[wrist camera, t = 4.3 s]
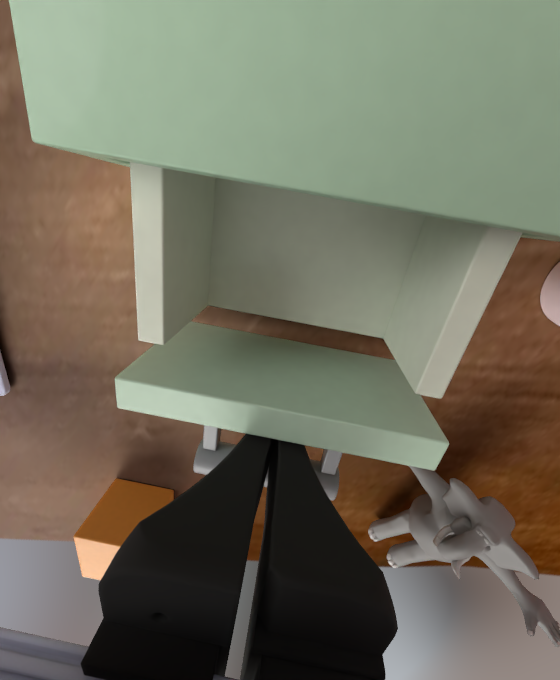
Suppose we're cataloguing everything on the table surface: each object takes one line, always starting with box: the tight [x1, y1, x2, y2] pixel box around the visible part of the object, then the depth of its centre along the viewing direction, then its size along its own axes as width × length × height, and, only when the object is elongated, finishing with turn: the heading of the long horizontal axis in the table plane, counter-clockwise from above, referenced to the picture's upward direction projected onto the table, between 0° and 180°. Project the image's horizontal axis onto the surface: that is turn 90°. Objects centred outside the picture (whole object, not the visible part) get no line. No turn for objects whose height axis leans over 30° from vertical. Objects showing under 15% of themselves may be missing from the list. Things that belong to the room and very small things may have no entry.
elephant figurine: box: [368, 466, 560, 647], centre depth 15 cm, size 10×6×9 cm
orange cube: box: [74, 479, 174, 580], centre depth 19 cm, size 4×4×4 cm
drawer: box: [115, 162, 522, 500], centre depth 10 cm, size 17×10×5 cm, turn 171°
